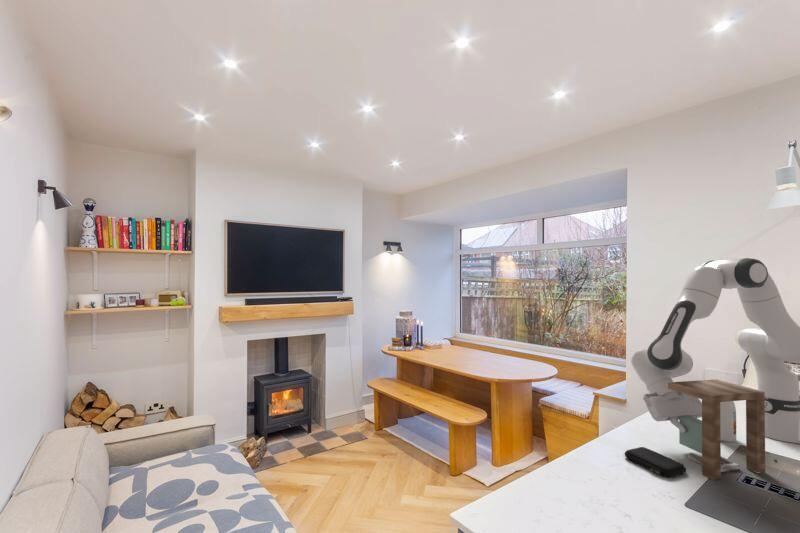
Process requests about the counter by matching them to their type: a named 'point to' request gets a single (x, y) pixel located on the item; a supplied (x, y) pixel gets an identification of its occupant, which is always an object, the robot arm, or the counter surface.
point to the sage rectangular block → (691, 433)
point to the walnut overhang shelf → (711, 434)
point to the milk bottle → (728, 421)
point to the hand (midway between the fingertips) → (691, 431)
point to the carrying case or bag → (655, 462)
